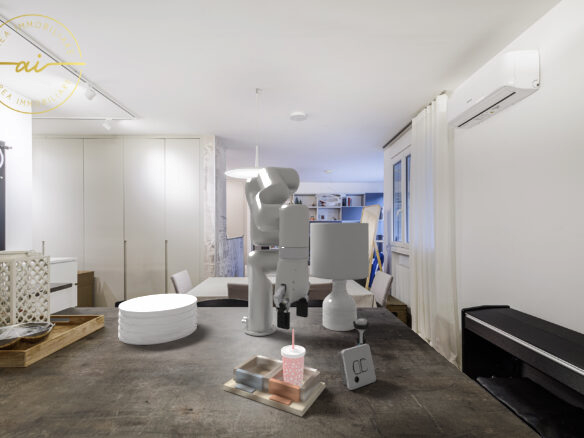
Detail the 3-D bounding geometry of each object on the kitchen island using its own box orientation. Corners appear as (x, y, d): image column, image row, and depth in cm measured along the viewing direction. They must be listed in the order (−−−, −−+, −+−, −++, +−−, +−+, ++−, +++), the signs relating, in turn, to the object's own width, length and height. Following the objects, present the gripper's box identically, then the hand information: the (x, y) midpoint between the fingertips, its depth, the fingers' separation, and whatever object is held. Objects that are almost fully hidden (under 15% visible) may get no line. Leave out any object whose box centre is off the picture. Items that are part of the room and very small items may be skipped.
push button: (370, 356, 93) (369, 324, 93) (352, 354, 94) (352, 323, 95) (369, 347, 100) (369, 318, 100) (353, 346, 101) (353, 316, 101)
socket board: (223, 389, 74) (223, 372, 74) (253, 367, 85) (254, 353, 85) (302, 416, 63) (302, 396, 63) (325, 387, 75) (325, 370, 75)
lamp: (360, 316, 135) (359, 223, 136) (377, 335, 111) (376, 222, 112) (307, 316, 134) (307, 223, 135) (313, 336, 110) (313, 222, 111)
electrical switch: (349, 392, 73) (347, 352, 74) (336, 384, 77) (334, 347, 78) (376, 382, 78) (374, 345, 79) (362, 375, 82) (360, 340, 83)
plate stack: (206, 334, 112) (206, 304, 113) (121, 351, 97) (122, 316, 97) (186, 316, 135) (186, 291, 136) (115, 327, 120) (116, 299, 120)
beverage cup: (290, 378, 77) (289, 323, 78) (310, 384, 74) (310, 328, 74) (275, 388, 72) (275, 330, 72) (296, 396, 69) (296, 335, 69)
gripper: (296, 249, 83) (296, 310, 83) (261, 256, 68) (261, 330, 68) (321, 251, 80) (320, 314, 80) (290, 258, 64) (289, 337, 64)
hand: (293, 322), depth 74 cm, fingers open, 9 cm apart
